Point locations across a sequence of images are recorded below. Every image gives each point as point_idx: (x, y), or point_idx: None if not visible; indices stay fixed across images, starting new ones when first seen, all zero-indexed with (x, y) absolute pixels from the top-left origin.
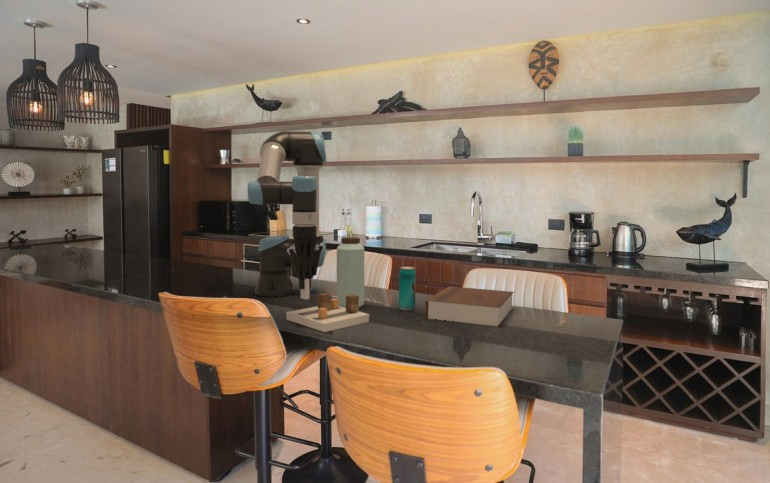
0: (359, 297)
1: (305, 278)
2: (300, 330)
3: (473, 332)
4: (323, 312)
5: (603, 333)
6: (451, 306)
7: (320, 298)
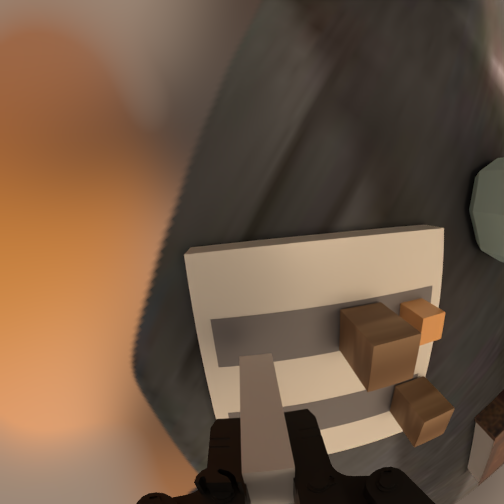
0: None
1: (278, 489)
2: (173, 406)
3: (427, 489)
4: None
5: (473, 488)
6: (486, 455)
7: (361, 361)
